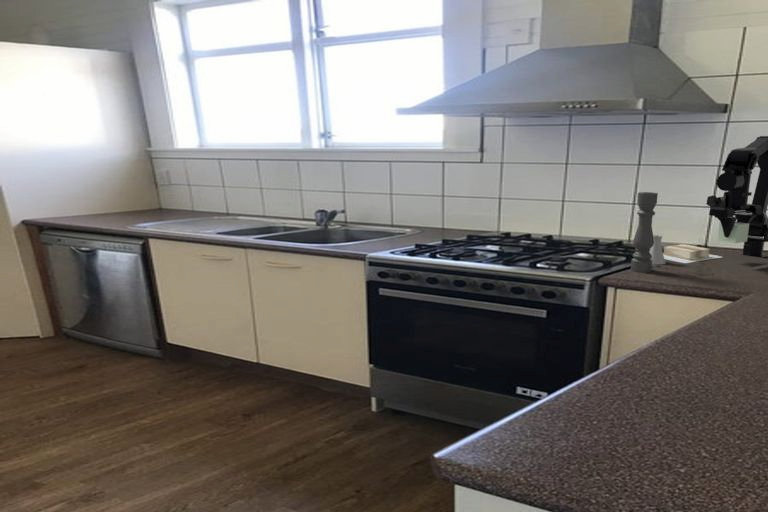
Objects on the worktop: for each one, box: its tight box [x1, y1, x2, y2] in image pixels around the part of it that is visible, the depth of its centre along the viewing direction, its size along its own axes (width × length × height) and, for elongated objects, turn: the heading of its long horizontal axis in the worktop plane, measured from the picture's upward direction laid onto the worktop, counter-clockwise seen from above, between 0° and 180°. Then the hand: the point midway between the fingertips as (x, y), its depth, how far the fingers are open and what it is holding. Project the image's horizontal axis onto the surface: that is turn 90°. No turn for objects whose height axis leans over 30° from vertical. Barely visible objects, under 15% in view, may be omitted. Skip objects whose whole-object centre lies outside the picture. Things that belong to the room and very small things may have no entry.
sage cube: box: [717, 221, 749, 244], centre depth 181 cm, size 6×6×6 cm
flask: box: [649, 234, 667, 268], centre depth 184 cm, size 7×7×10 cm
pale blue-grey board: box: [663, 252, 722, 264], centre depth 193 cm, size 20×14×1 cm
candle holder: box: [630, 191, 659, 273], centre depth 176 cm, size 6×6×25 cm
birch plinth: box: [663, 243, 711, 260], centre depth 193 cm, size 10×10×3 cm
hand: (732, 236), depth 181 cm, fingers closed on sage cube, 6 cm apart
